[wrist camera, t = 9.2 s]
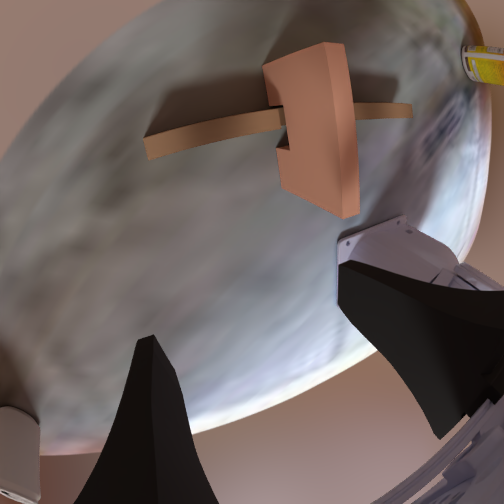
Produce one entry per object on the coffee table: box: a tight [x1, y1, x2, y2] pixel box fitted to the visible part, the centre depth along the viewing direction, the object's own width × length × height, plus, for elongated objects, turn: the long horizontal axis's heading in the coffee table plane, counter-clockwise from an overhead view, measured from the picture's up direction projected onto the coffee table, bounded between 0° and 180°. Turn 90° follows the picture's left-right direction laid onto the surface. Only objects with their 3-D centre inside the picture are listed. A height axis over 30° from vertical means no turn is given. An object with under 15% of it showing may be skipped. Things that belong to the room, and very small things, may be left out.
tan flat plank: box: [262, 42, 360, 219], centre depth 14 cm, size 9×1×7 cm, turn 9°
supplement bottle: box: [462, 45, 504, 86], centre depth 16 cm, size 6×6×10 cm
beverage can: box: [0, 406, 41, 504], centre depth 14 cm, size 6×6×12 cm
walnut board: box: [143, 102, 413, 160], centre depth 16 cm, size 20×1×3 cm, turn 99°
